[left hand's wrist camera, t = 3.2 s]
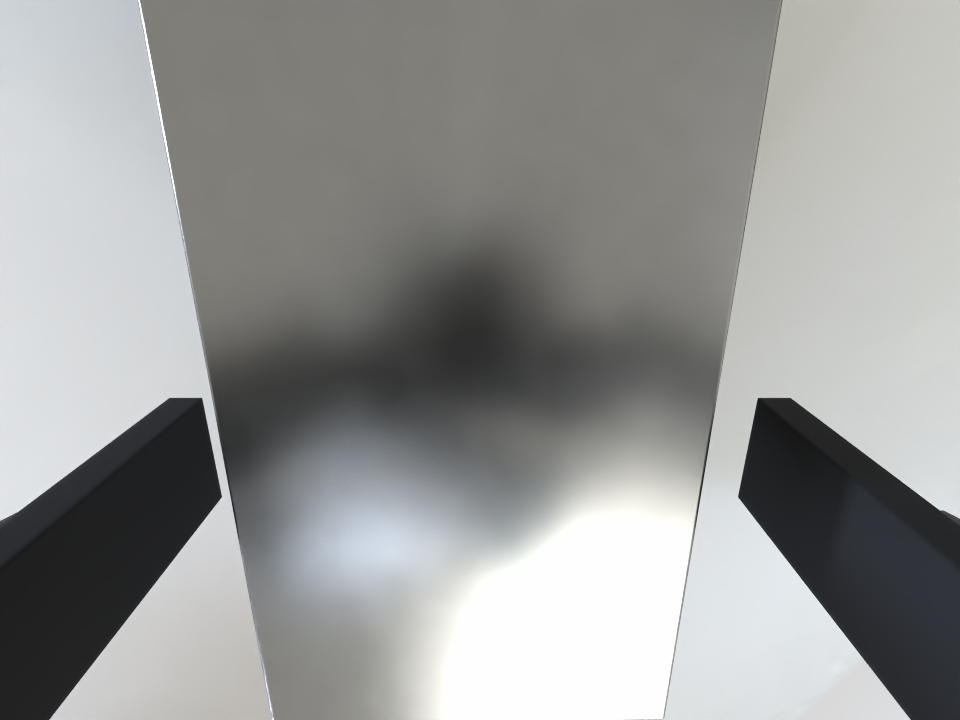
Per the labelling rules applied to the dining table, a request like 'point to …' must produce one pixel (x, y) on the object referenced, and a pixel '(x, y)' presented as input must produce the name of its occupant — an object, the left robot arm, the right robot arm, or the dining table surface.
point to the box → (463, 330)
